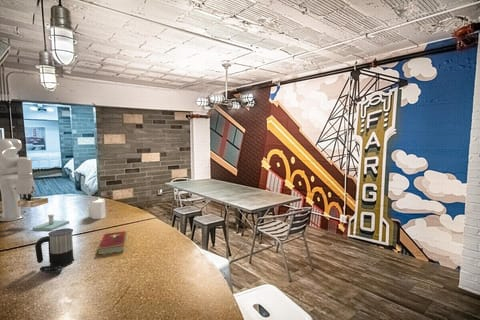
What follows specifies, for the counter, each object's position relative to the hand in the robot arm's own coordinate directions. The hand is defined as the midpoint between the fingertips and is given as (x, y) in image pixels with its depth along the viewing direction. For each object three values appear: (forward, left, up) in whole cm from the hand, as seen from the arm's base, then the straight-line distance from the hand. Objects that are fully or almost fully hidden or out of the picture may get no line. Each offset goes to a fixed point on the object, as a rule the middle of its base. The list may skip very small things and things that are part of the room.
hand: (27, 203), depth 168 cm
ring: (+5, 0, -1) cm, 5 cm away
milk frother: (+68, -51, -14) cm, 86 cm away
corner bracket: (+36, +20, -14) cm, 43 cm away
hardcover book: (+78, -27, -15) cm, 84 cm away
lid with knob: (+20, -3, -14) cm, 25 cm away
